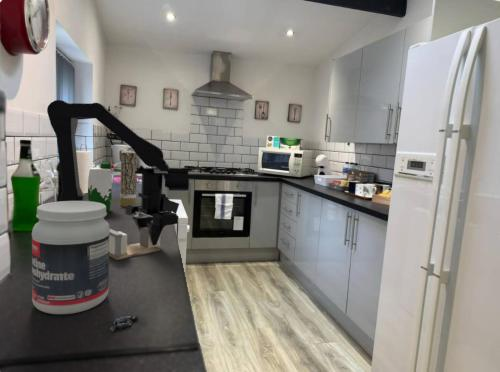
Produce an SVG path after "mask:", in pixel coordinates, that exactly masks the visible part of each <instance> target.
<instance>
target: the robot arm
mask: <svg viewBox="0 0 500 372" xmlns="http://www.w3.org/2000/svg"><path fill="white" fill-rule="evenodd" d="M46 112H47V115H48V116H47V117H48V119H49V122H50V126H51V128H52V129H53V132H54V133H55V136H56V137H55V138H56V141H57V142H56V143H57V144H56V145H57V154H58V162H59V172H60V180H61V181H60V182H61V193H60V198H59V201H58V202H60V201H88V192H85V193H83V191H82V188H81V185H80V175H79V167H78V166H79V165H78V157H77V156H78V155H77V154H78V153H77V146H76V133H77V127H78V121H79V120H89V119H91V120H92V119H96V120H97V121H98V122H100V123H101V124H102V125H103V126H104V127H106V128H107V129H108V130H110V131H111V132H112V133H113V134H115V135H116V136H117V137H118V138H120V139H121V141H123V142H124V143H126V145H128V146H129V147H130V148H131V149H132V151H133V152H135V153H136V154H137V158H139V159H140V160H141V161H142V162H143V163H144V164H145V165H146V166H147V167H144V166H143V165H142V164H141V165H140V166H139V168H137V170H136V171H135V174H137V175H141V191H140V192H138V193H137V194H138V195H137V196H138V197H139V198H140V203H136V204H131V205H128V206H127V207H125V215H127V216H132V217H131V219H132V220H133V221H134V224H135V226H136V227H137V229H138V231H139V232H140V228H144V227H148V229H149V234H150V238H151V242H152V245H156V244H157V242H158V239H159V236H160V237H161V233H162V231H163V229H164V228H165V227H166V226H171V225H177V224H179V218H180V217H179V216H178V214H177V212H178V210H179V206H180V203H178V202H176V201H173V200H169V197H168V196H167V195H166V194H165V193H163V181H164V187H165V188H166V189H168V191H170V192H171V191H175V192H176V191H177V192H188V191H189V187H190V179H189V168H188V167H170V166H169V163H167V161H166V160H165V159H164V152H163V149H162V148H160V147H159V146H157V145H156V144H154V143H152V142H150V141H148V140H147V139H145V138H143V137H141V136H139V134H137V133H136V132H135V131H133V130H132V129H131V128H130V127H128V125H126V124H125V123H124V122H123V121H121V120H120V119H119V118H118V117H117V116H115V115H114V114H113V113H112V112H111V111H109V109H107V107H106V106H105V105H103V104H101V103H99V102H92V103H90V102H89V103H83V102H82V103H79V102H78V103H70V102H68V101H65V100H62V99H61V100H60V99H56V100H54V101H52V102H50V103H49V104H48V105H47V110H46ZM156 169H158V170H159V171H156ZM163 176H164V177H163ZM133 214H134V216H133Z"/></svg>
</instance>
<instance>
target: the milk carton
mask: <svg viewBox="0 0 500 372" xmlns="http://www.w3.org/2000/svg"><path fill="white" fill-rule="evenodd" d="M112 177H113V176H112V163H111V162H110V163H109V162H108V163H107V162H103V163H102V162H101V163H100V167H98V166H97V167H89V172H88V178H87V193H88V201H92V202H98V203H102V204H104V205H105V206H106V212H107V213H110V212H111V206H112V205H111V204H112V194H113V191H112V189H113V188H112V187H113V184H112V183H113V180H112Z"/></svg>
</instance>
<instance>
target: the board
mask: <svg viewBox="0 0 500 372" xmlns="http://www.w3.org/2000/svg"><path fill="white" fill-rule="evenodd" d="M158 251H159V252H160V251H161V247H159V246H156V247H151V248H146V247H143V246H141V245H140V242H138V243H131V244H127V253H123V254H121V256H118V257H117V256H116V255H113V254H111V253H109V258H110V257H111V258H113V259H114V260H116V261H117V260H123V259H127V258H131V257H137V256H141V255H146V254H150V253H155V252H158Z"/></svg>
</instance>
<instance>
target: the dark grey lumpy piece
mask: <svg viewBox="0 0 500 372" xmlns="http://www.w3.org/2000/svg"><path fill="white" fill-rule="evenodd" d="M139 320H140V319H139V317H138V316H136V315H126V316H120V318H119V317H118V318H115V319H114V321H113V322H112V324H111V327H109V329H108V330H109V332H110V333H112V334H114V333H117V332H119V331H124V330H126V329H130V328H131V327H132V326H133V324H134V323H137V322H138V321H139ZM131 332H132V331H130V332H129V333H131Z"/></svg>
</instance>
